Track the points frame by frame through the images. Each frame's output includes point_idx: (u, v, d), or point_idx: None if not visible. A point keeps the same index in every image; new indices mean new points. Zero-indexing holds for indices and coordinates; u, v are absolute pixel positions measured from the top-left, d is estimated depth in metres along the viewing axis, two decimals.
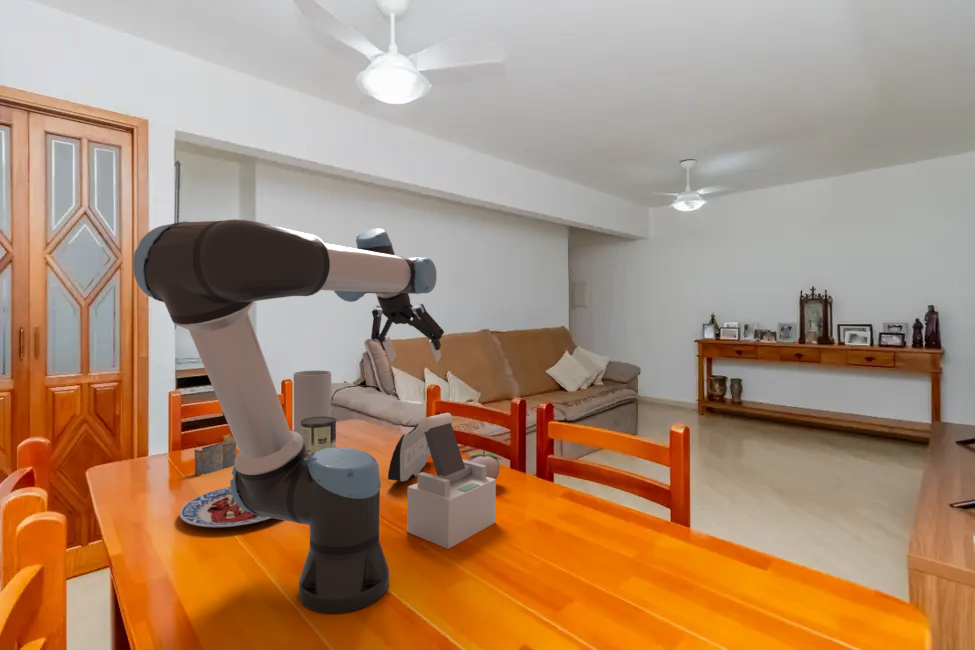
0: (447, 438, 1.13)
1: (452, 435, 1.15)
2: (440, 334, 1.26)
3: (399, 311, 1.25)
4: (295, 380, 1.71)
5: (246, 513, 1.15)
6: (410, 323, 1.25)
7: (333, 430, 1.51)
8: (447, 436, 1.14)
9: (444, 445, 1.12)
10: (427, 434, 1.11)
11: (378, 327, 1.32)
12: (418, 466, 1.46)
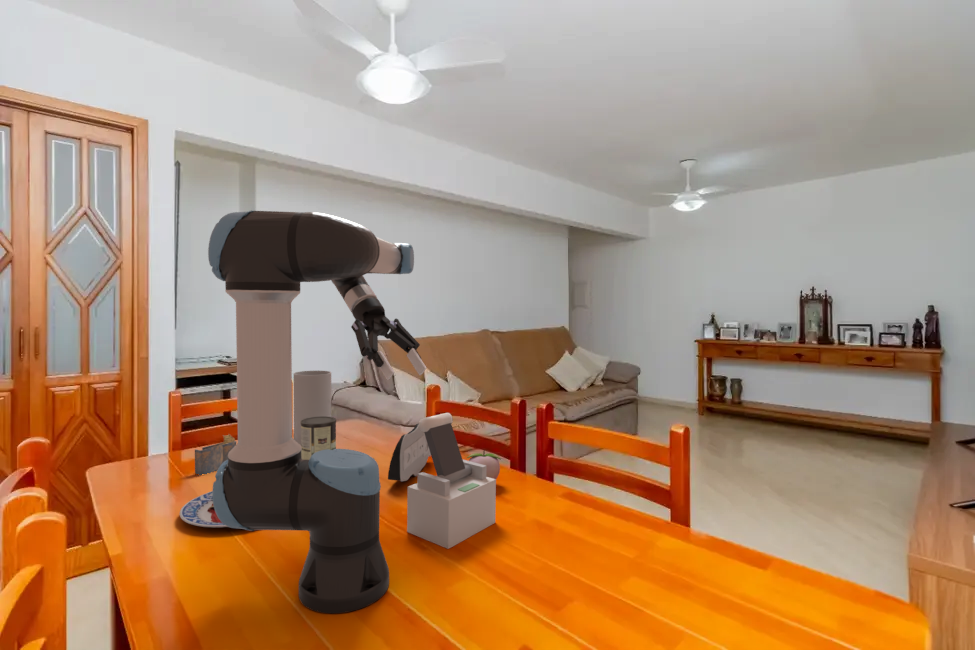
0: (447, 438, 1.13)
1: (452, 435, 1.15)
2: None
3: (379, 317, 1.27)
4: (295, 380, 1.71)
5: None
6: (393, 327, 1.26)
7: (333, 430, 1.51)
8: (447, 436, 1.14)
9: (444, 445, 1.12)
10: (427, 434, 1.11)
11: None
12: (418, 466, 1.46)
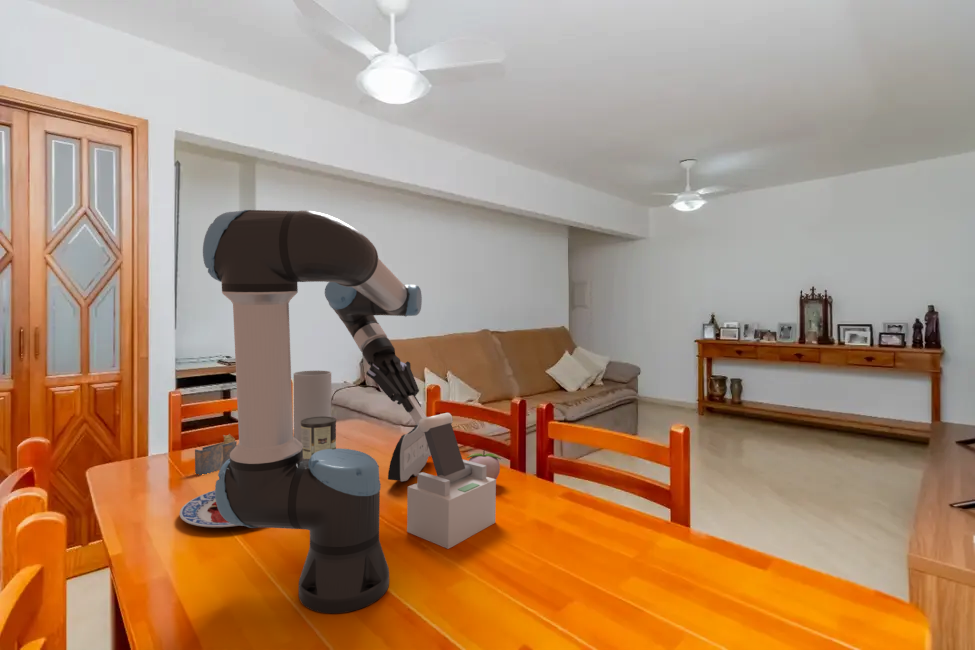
0: (447, 438, 1.13)
1: (452, 435, 1.15)
2: None
3: (390, 354, 1.26)
4: (295, 380, 1.71)
5: None
6: (400, 369, 1.24)
7: (333, 430, 1.51)
8: (447, 436, 1.14)
9: (444, 445, 1.12)
10: (427, 434, 1.11)
11: None
12: (418, 466, 1.46)
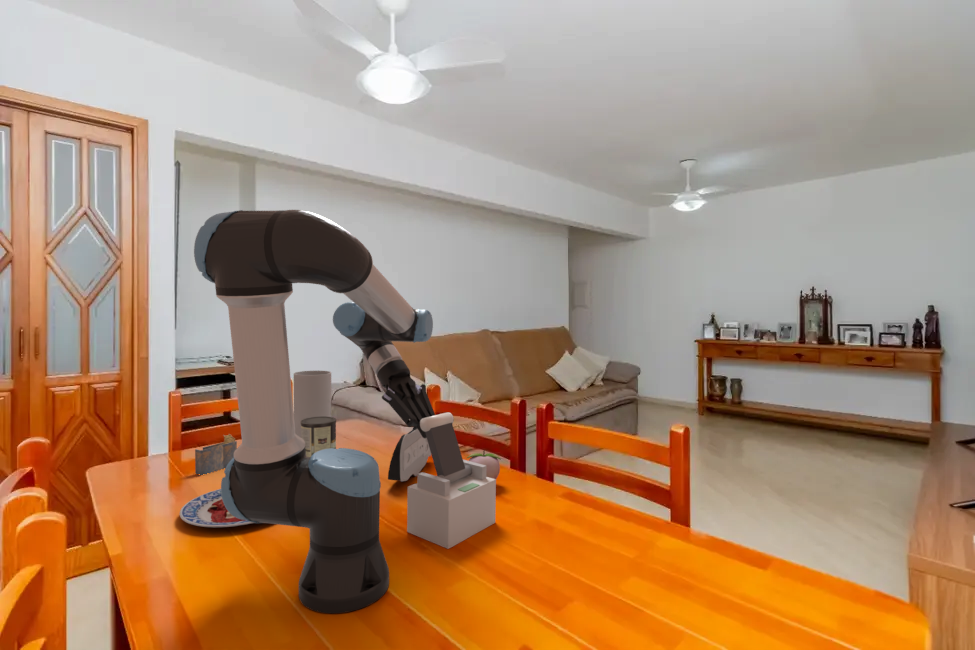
0: (448, 438, 1.13)
1: (453, 435, 1.15)
2: None
3: (405, 377, 1.23)
4: (295, 380, 1.71)
5: None
6: (416, 393, 1.20)
7: (333, 430, 1.51)
8: (448, 436, 1.13)
9: (444, 445, 1.12)
10: (428, 434, 1.11)
11: None
12: (418, 466, 1.46)
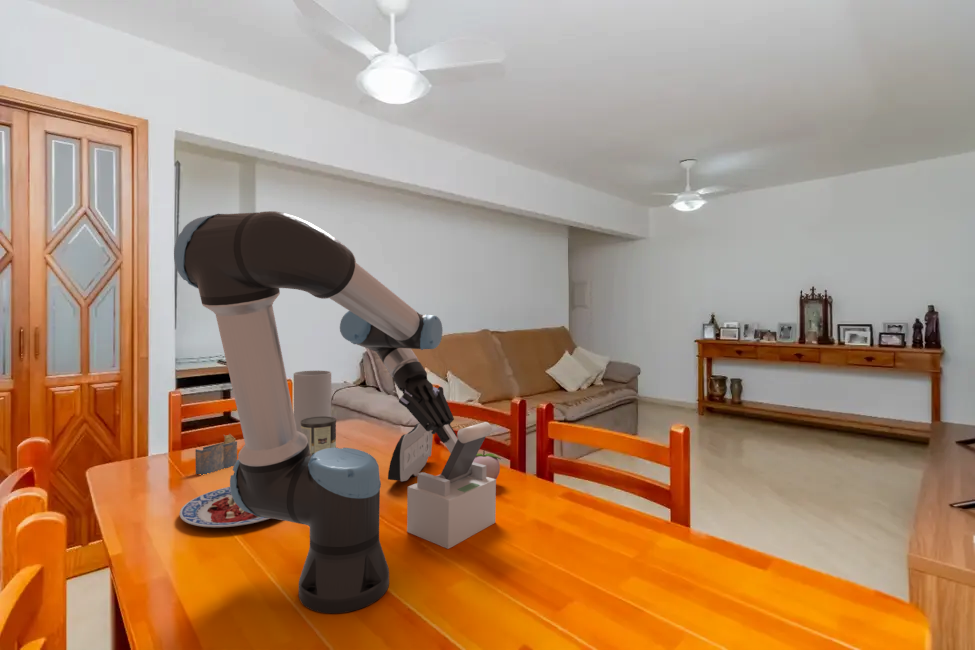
0: (473, 449, 1.09)
1: (478, 447, 1.10)
2: None
3: (422, 379, 1.19)
4: (295, 380, 1.71)
5: (246, 513, 1.15)
6: (433, 396, 1.16)
7: (333, 430, 1.51)
8: (474, 448, 1.09)
9: (465, 456, 1.08)
10: (459, 442, 1.05)
11: None
12: (418, 466, 1.46)
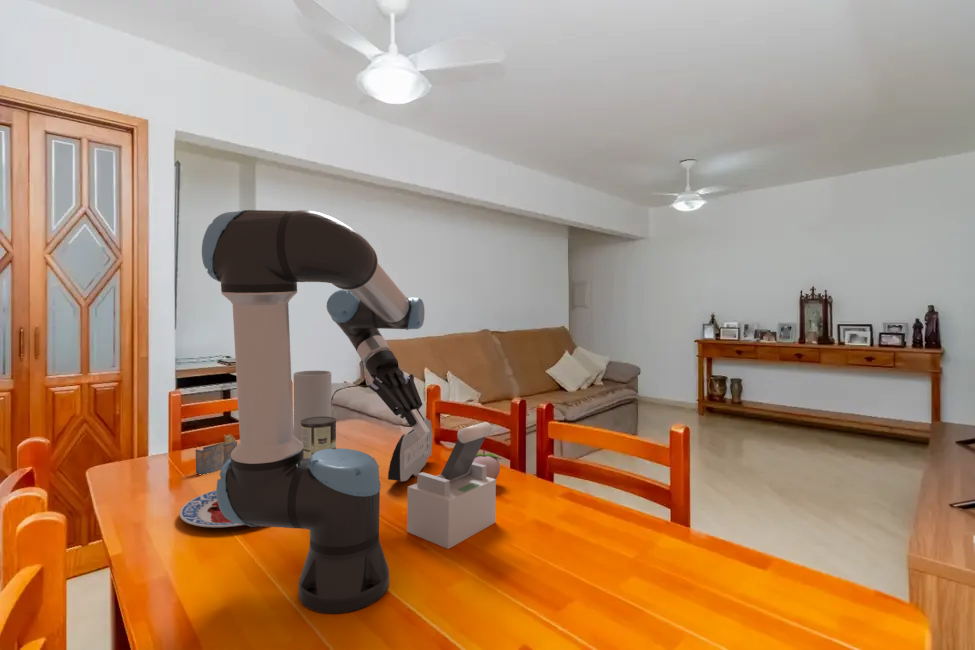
0: (473, 449, 1.09)
1: (478, 447, 1.10)
2: None
3: (393, 367, 1.25)
4: (295, 380, 1.71)
5: None
6: (403, 382, 1.22)
7: (333, 430, 1.51)
8: (474, 448, 1.09)
9: (465, 456, 1.08)
10: (459, 442, 1.05)
11: None
12: (418, 466, 1.46)
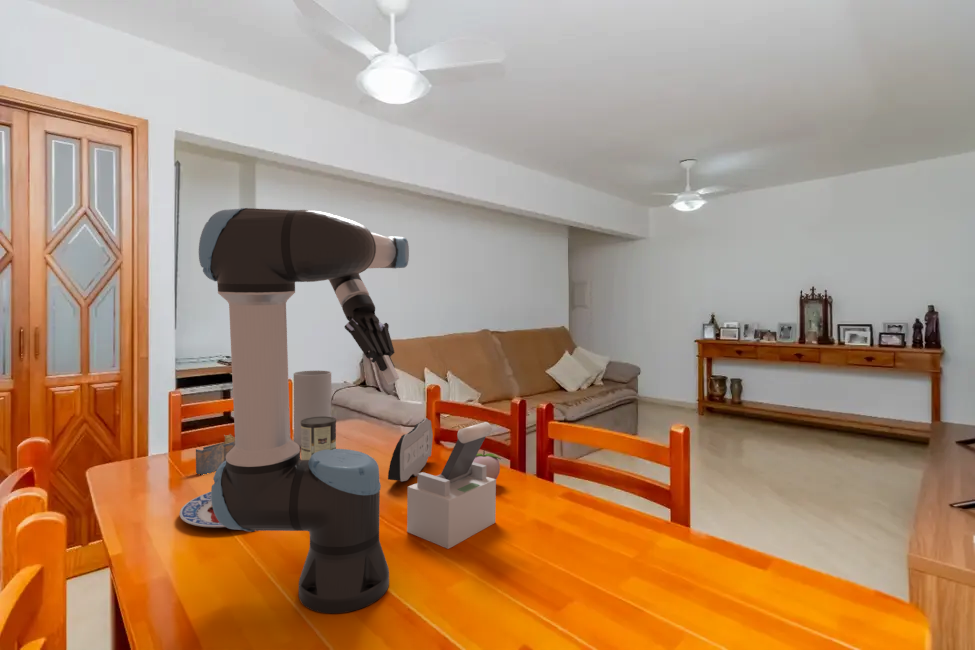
0: (473, 449, 1.09)
1: (478, 447, 1.10)
2: None
3: (370, 313, 1.26)
4: (295, 380, 1.71)
5: None
6: (378, 328, 1.23)
7: (333, 430, 1.51)
8: (474, 448, 1.09)
9: (465, 456, 1.08)
10: (459, 442, 1.05)
11: None
12: (418, 466, 1.46)
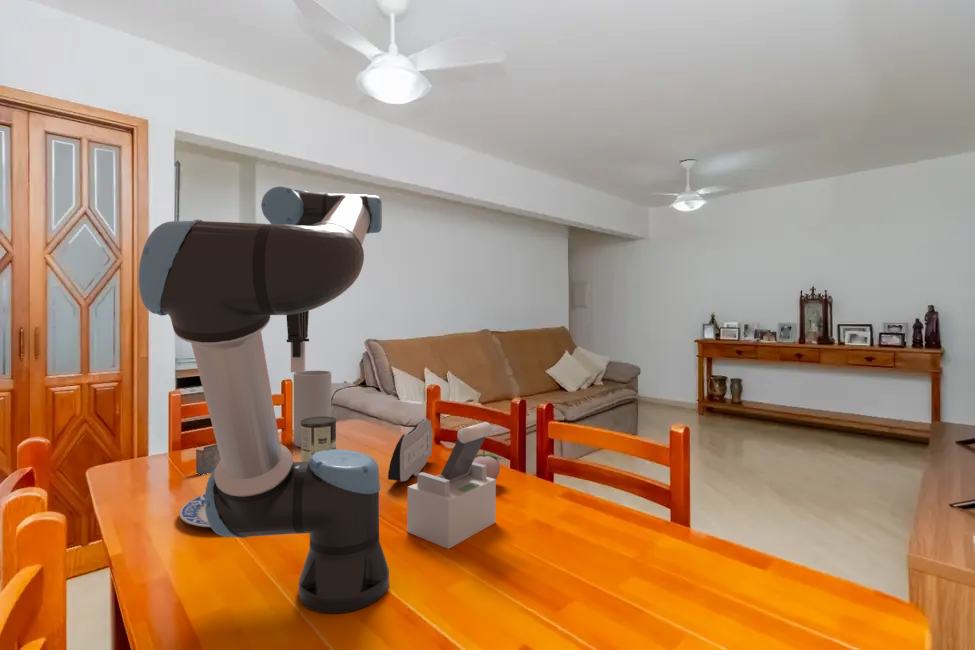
0: (473, 449, 1.09)
1: (478, 447, 1.10)
2: None
3: None
4: (295, 380, 1.71)
5: None
6: None
7: (333, 430, 1.51)
8: (474, 448, 1.09)
9: (465, 456, 1.08)
10: (459, 442, 1.05)
11: None
12: (418, 466, 1.46)
